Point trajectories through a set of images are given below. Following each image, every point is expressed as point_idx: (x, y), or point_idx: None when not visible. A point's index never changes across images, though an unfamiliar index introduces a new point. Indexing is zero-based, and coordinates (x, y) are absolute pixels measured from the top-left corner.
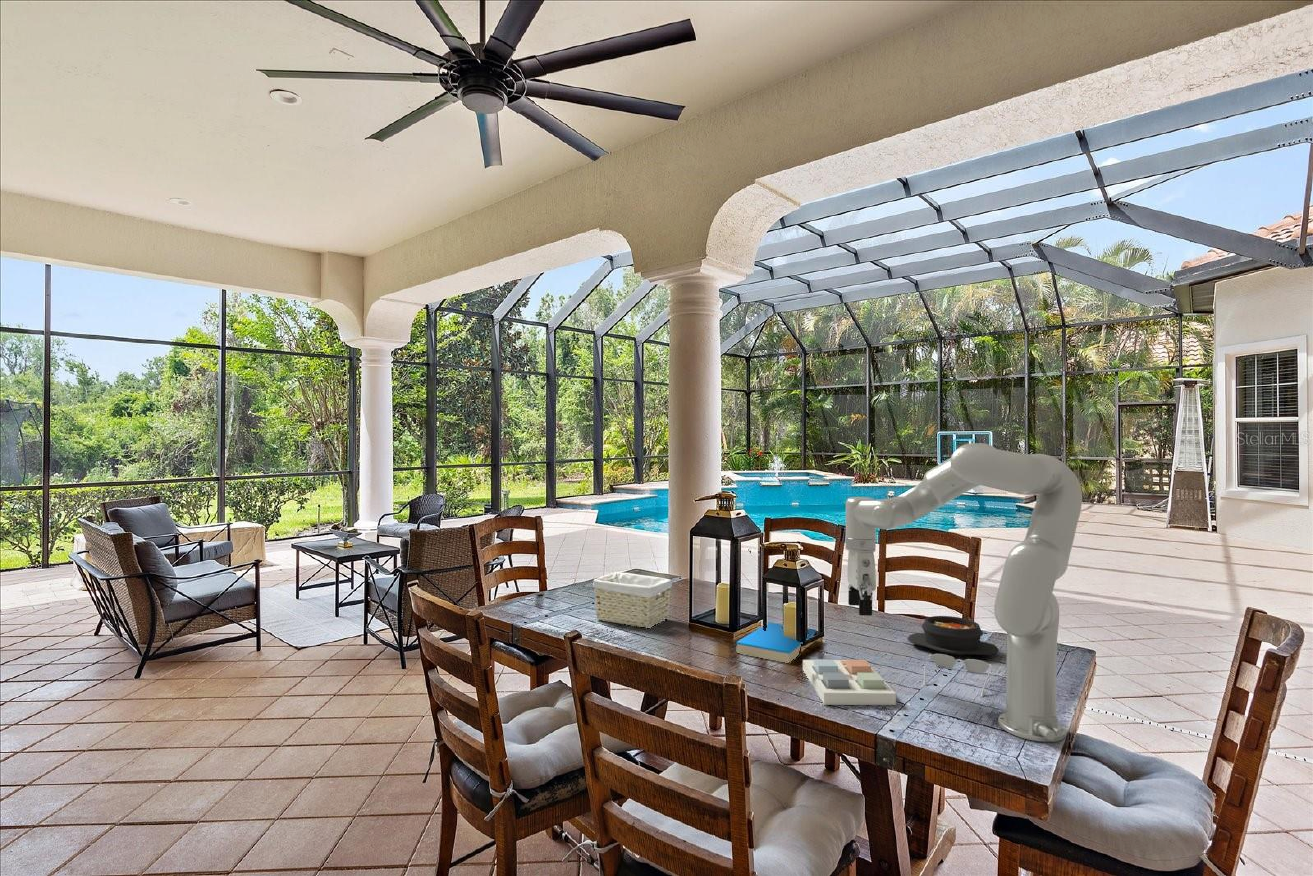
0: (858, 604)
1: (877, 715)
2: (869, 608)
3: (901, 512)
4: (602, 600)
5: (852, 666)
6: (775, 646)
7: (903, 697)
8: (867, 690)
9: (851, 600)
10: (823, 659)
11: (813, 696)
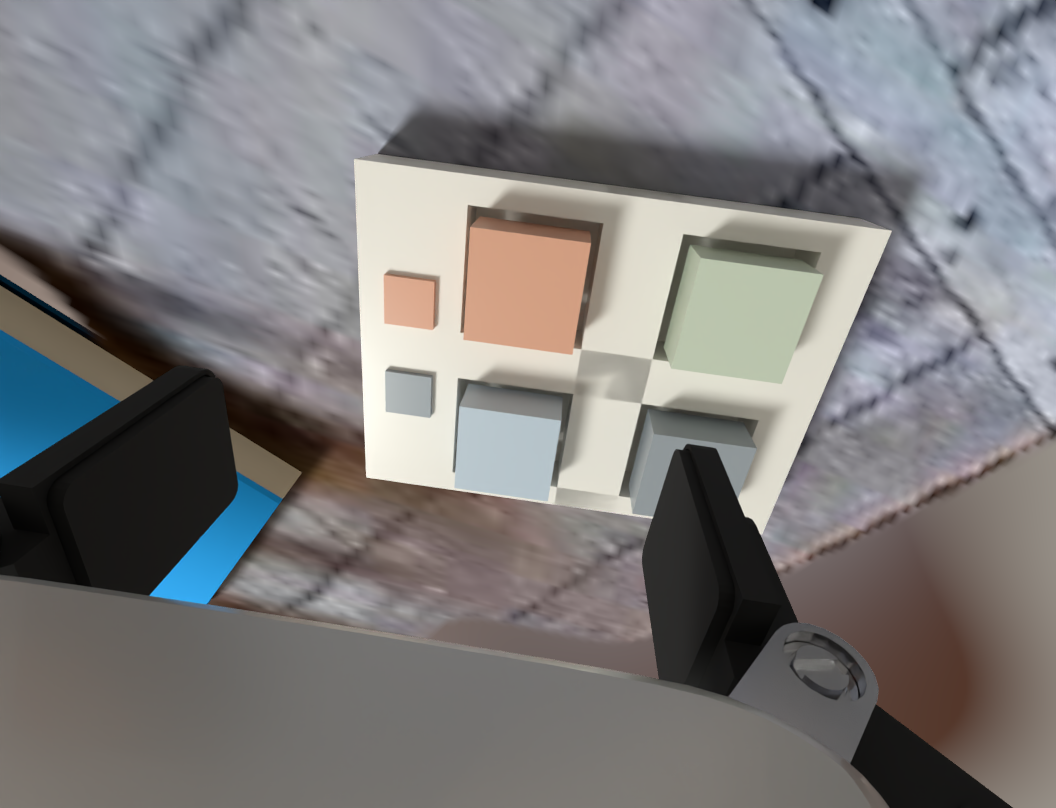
0: (219, 404)
1: (911, 351)
2: (766, 554)
3: None
4: None
5: (572, 350)
6: (208, 531)
7: (772, 111)
8: (801, 359)
9: (199, 512)
10: (457, 449)
11: None
